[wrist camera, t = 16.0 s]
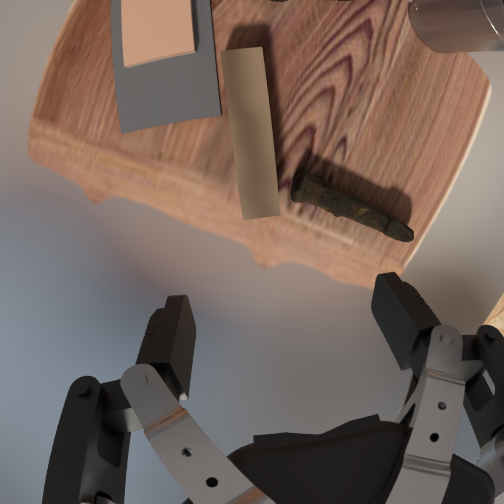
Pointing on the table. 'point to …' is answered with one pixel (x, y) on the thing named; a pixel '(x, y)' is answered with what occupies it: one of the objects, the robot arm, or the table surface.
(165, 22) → the tile
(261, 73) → the tan wooden bar
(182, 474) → the robot arm
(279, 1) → the mug
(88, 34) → the table surface
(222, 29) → the table surface
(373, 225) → the hand tool
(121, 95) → the rubber mat
